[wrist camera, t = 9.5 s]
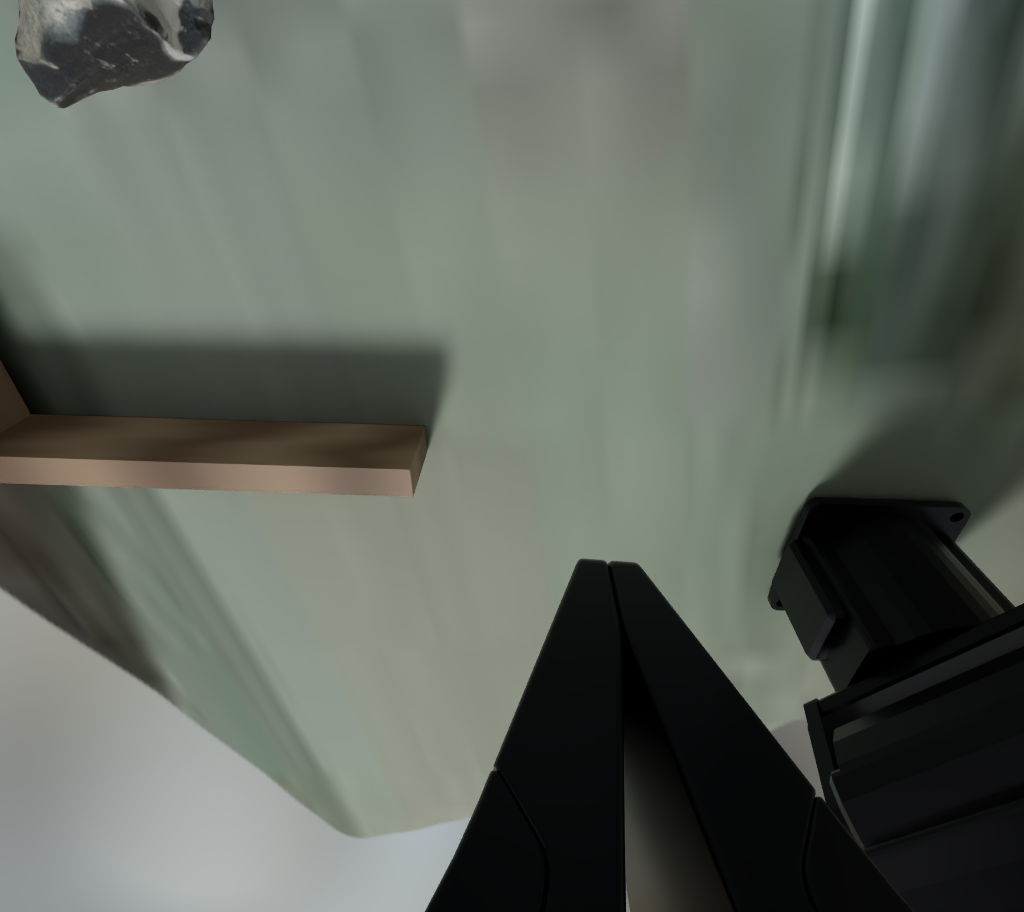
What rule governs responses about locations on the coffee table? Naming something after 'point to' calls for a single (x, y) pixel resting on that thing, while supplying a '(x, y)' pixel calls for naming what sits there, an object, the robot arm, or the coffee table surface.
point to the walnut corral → (206, 453)
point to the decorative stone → (107, 43)
